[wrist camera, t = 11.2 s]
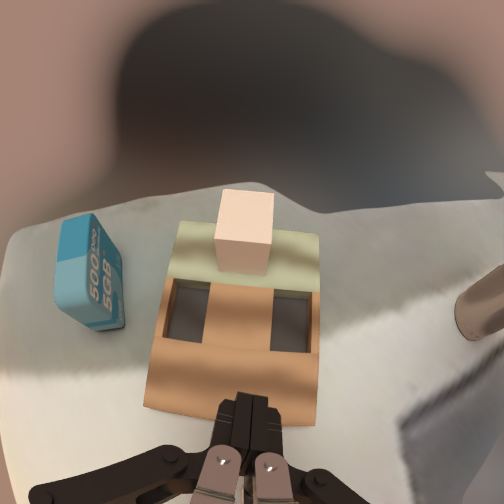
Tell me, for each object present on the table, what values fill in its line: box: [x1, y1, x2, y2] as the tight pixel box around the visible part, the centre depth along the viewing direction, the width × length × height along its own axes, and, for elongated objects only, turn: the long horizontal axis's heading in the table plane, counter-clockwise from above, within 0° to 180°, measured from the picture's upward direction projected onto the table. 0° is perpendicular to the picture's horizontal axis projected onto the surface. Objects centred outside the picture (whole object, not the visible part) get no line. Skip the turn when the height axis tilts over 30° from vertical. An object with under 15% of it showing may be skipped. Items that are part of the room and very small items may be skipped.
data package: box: [54, 213, 125, 331], centre depth 32 cm, size 12×4×12 cm, turn 14°
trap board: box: [143, 221, 320, 426], centre depth 35 cm, size 26×20×3 cm
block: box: [214, 189, 274, 276], centre depth 35 cm, size 7×6×8 cm
